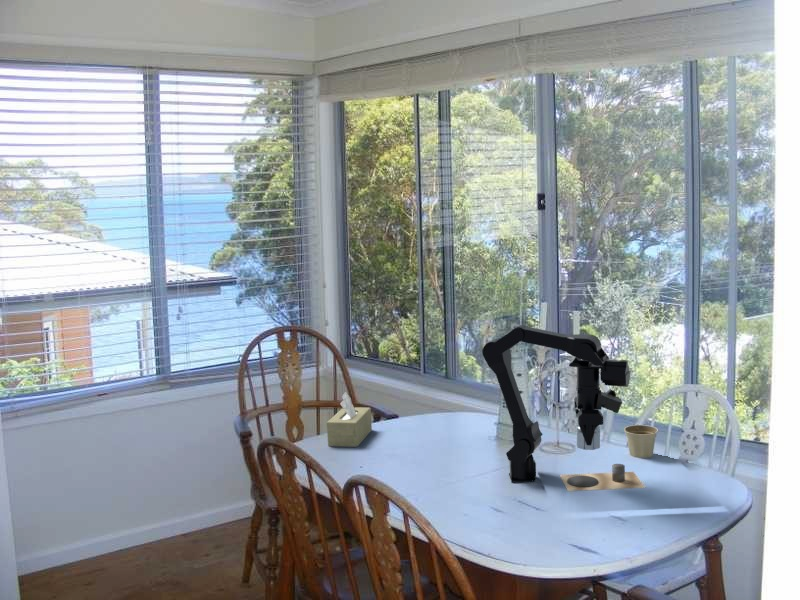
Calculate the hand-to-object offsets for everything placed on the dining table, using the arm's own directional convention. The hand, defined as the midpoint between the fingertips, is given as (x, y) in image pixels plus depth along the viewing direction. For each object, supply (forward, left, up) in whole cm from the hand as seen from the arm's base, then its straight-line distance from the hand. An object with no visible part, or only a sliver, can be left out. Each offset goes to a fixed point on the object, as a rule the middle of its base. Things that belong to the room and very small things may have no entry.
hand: (588, 441), depth 219 cm
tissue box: (-67, +53, -13) cm, 86 cm away
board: (+3, 0, -12) cm, 13 cm away
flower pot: (+19, +20, -12) cm, 30 cm away
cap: (0, 0, -1) cm, 1 cm away
